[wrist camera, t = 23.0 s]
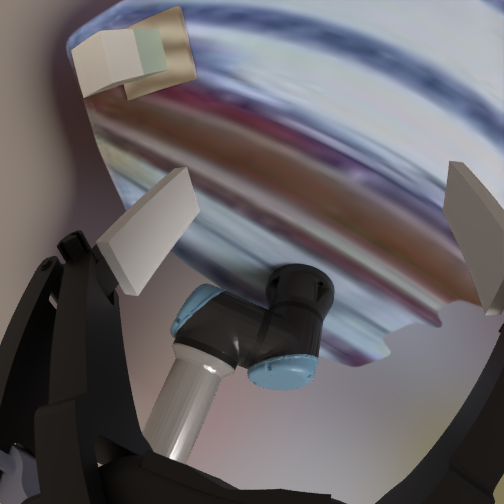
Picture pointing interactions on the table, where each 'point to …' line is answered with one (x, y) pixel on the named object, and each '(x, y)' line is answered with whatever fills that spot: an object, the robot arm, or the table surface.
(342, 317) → the table surface
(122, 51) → the cream brick
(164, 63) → the sage brick
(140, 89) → the base plate
